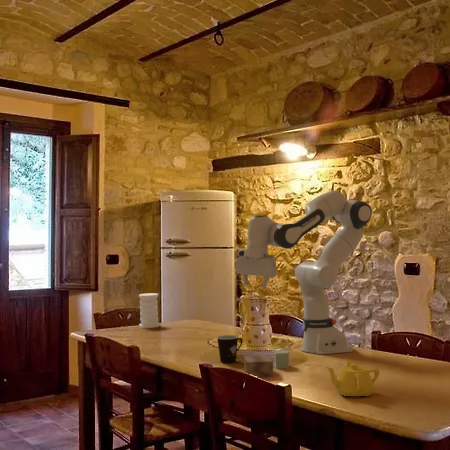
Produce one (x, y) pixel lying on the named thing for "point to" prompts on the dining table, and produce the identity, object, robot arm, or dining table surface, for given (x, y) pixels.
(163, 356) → the dining table surface
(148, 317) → the decorative container
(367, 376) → the teapot
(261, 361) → the walnut box
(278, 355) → the green cube
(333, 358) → the dining table surface
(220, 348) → the coffee mug
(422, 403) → the dining table surface
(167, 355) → the dining table surface
